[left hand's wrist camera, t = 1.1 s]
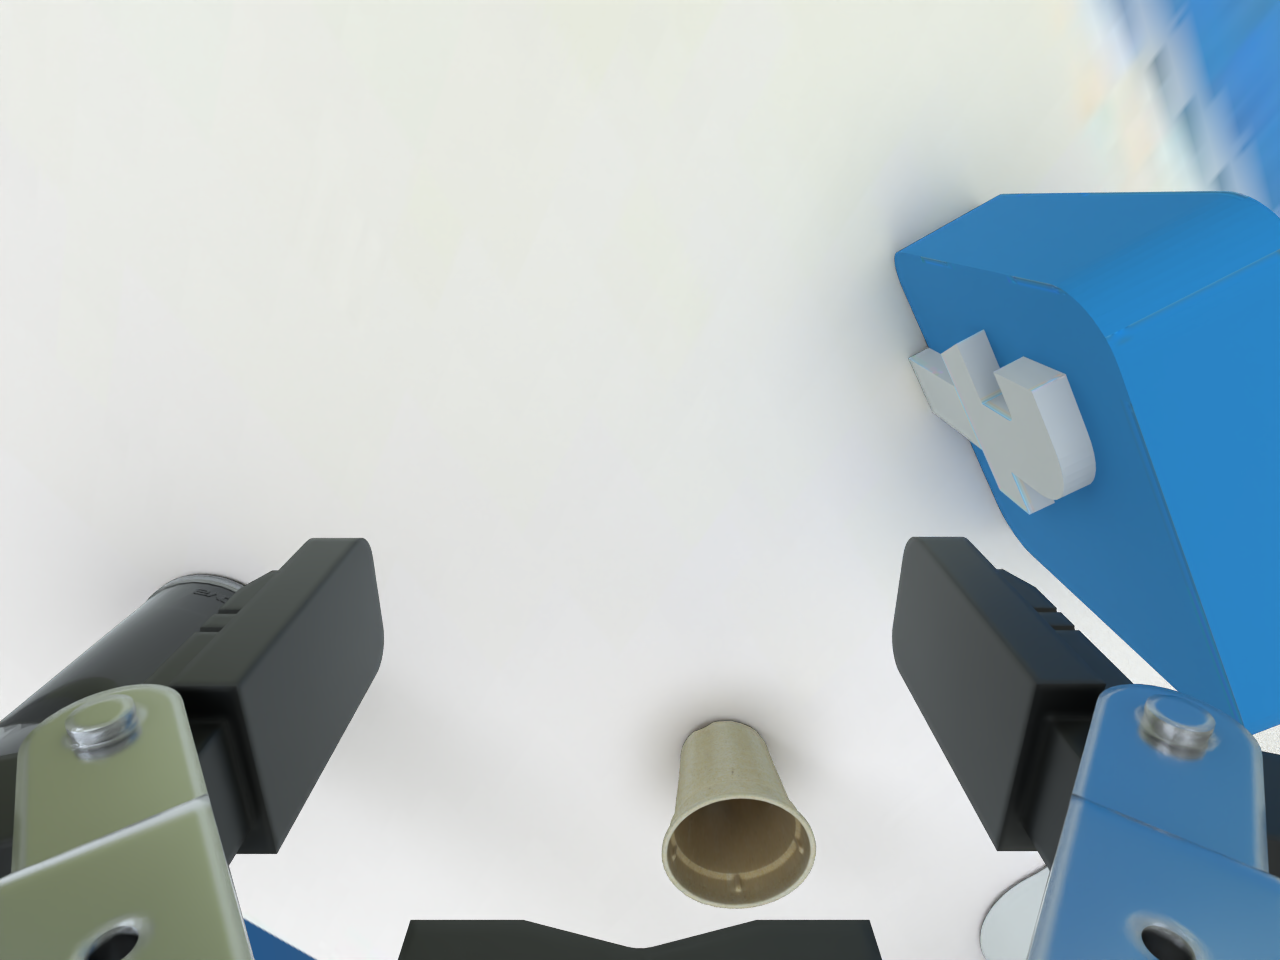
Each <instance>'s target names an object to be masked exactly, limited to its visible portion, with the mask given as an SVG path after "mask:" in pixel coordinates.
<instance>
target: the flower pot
mask: <svg viewBox="0 0 1280 960" xmlns="http://www.w3.org/2000/svg"><path fill="white" fill-rule="evenodd" d="M815 855H816V843H815V838H814V835H813V832H812V830H811V827H810V825H809V824H808V822H807V821H806V819H805V818H804V817H803V816H802V815H801V814H800V813H799V812H798V811H797V809H796V808H795V806H794V805H793V804H792V802H791V801H790V800H789V799H788V796H787V794H786V792H785V789H784V787H783V785H782V782H781V780H780V778H779V776H778V773H777V771H776V769H775V766H774V764H773V761H772V759H771V757H770V754H769V752H768V749H767V746H766V744H765V742H764V740H763V739H762V738H761V736H760V735H759V734H758V733H757V732H756V731H755V730H754V729H752V728H751V727H749V726H747V725H744V724H742V723H738V722H733V721H717V722H713V723H711V724H710V725H708V726H706V727H704V728H702V729H700V730H697V731H694V732H693V733H692V734H691V735H690V736H689V737H688V738H687V740H686V741H685V743H684V745H683V748H682V751H681V761H680V772H679V782H678V790H677V798H676V807H675V814H674V816H673V818H672V820H671V824H670V827H669V828H668V830H667V832H666V834H665V837H664V840H663V846H662V862H663V865H664V869H665V871H666V873H667V876H668V877H669V879H670V881H671V882H672V883H673V884H674V885H675V886H676V887H677V888H678V889H679V890H680V891H681V892H683V893H684V894H685V895H686V896H688V897H690V898H692V899H694V900H696V901H698V902H700V903H703V904H706V905H710V906H714V907H720V908H730V909H739V908H740V909H742V908H751V907H756V906H761V905H764V904H768V903H770V902H773V901H776V900H778V899H780V898H782V897H784V896H786V895H787V894H789V893H791V892H792V891H793V890H794V889H796V888H797V887H798V886H799V885H800V884H801V883H802V882H803V881H804V880H805V878H806V877H807V875H808V874H809V873H810V871H811V869H812V867H813V864H814V860H815Z"/></svg>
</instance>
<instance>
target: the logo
mask: <svg viewBox="0 0 1280 960" xmlns="http://www.w3.org/2000/svg"><path fill="white" fill-rule="evenodd" d="M895 267H896V271H897V275H898V278H899V280H900V283H901V286H902V288H903V290H904V293H905V295H906V297H907V299H908V302H909V304H910V306H911V308H912V311H913V313H914V315H915V318H916V320H917V322H918V324H919V327H920V329H921V331H922V334H923V336H924V338H925V340H926V343H927V345H928V347H929V348H927V349H925V350H923V351H921V352H919V353H918V354H916V355H914V356H912V357H910V358H909V361H910V363H911V365H912V367H913V370H914V372H915V374H916V376H917V378H918V381H919V383H920V385H921V387H922V390H923V392H924V394H925V396H926V398H927V401H928V403H929V405H930V407H931V410H932V412H933V413H934V414H935V415H937V416H938V417H939V418H941V419H942V420H943V421H944V422H946V423H947V424H948V425H950V426H951V427H952V428H954V429H955V430H956V431H958V432H959V433H960V434H962V435H963V436H964V437H966V438H967V439H968V440H970V443H971V445H972V447H973V449H974V452H975V454H976V456H977V459H978V461H979V463H980V465H981V468H982V470H983V472H984V474H985V477H986V479H987V481H988V484H989V486H990V488H991V490H992V493H993V495H994V497H995V500H996V502H997V504H998V506H999V508H1000V510H1001V512H1002V514H1003V516H1004V518H1005V520H1006V521H1007V523H1008V525H1009V526H1010V528H1011V530H1012V531H1013V533H1014V534H1015V535H1016V537H1017V538H1018V540H1019V541H1020V542H1021V544H1022V545H1023V546H1024V547H1025V548H1026V549H1027V551H1028V552H1029V553H1030V554H1031V555H1033V556H1034V557H1035V558H1036V559H1037V560H1038V561H1039V562H1040V563H1041V564H1042V565H1043V566H1044V567H1045V568H1046V569H1048V570H1049V571H1050V572H1051V573H1052V574H1053V575H1054V576H1055V577H1056V578H1057V579H1058V580H1059V581H1060V582H1061V583H1063V584H1064V585H1065V586H1066V587H1067V588H1068V589H1069V590H1070V591H1071V592H1072V593H1073V594H1074V595H1075V596H1076V597H1078V598H1079V599H1080V600H1081V601H1082V602H1083V603H1084V604H1085V605H1086V606H1087V607H1088V608H1089V609H1090V610H1091V611H1093V612H1094V613H1095V614H1096V615H1097V616H1098V617H1099V618H1100V619H1101V620H1102V621H1103V622H1104V623H1105V624H1106V625H1108V626H1109V627H1110V628H1111V629H1112V630H1113V631H1114V632H1115V633H1116V634H1117V635H1118V636H1119V637H1120V638H1121V639H1123V640H1124V641H1125V642H1126V643H1127V644H1128V645H1129V646H1130V647H1131V648H1132V649H1133V650H1134V651H1135V652H1136V653H1138V654H1139V655H1140V656H1141V657H1142V658H1143V659H1144V660H1145V661H1146V662H1147V663H1148V664H1149V665H1150V666H1151V667H1153V668H1154V669H1155V670H1156V671H1157V672H1158V673H1159V674H1160V675H1161V676H1162V677H1163V678H1164V679H1165V680H1166V681H1168V682H1169V683H1170V684H1171V685H1172V686H1173V687H1174V688H1175V689H1176V690H1177V691H1178V692H1181V693H1184V694H1186V695H1189V696H1192V697H1195V698H1197V699H1199V700H1202V701H1204V702H1206V703H1208V704H1210V705H1212V706H1214V707H1216V708H1218V709H1220V710H1221V711H1223V712H1224V713H1226V714H1228V715H1229V716H1231V717H1232V718H1233V719H1235V720H1236V721H1237V722H1239V723H1240V724H1241V725H1242V726H1244V727H1245V728H1246V729H1247V730H1248V731H1249V732H1250V733H1251V734H1252V735H1253V734H1256V733H1258V732H1261V731H1264V730H1266V729H1269V728H1271V727H1274V726H1277V725H1279V724H1280V218H1279V217H1278V216H1277V215H1276V214H1275V213H1273V212H1272V211H1271V210H1270V209H1269V208H1267V207H1266V206H1264V205H1263V204H1261V203H1260V202H1258V201H1257V200H1255V199H1253V198H1251V197H1249V196H1246V195H1243V194H1240V193H1236V192H1230V191H1189V192H1113V193H1038V194H1000V195H998V196H996V197H995V198H993V199H991V200H989V201H987V202H986V203H984V204H982V205H980V206H979V207H977V208H975V209H973V210H971V211H970V212H968V213H966V214H964V215H963V216H961V217H959V218H957V219H955V220H954V221H952V222H950V223H948V224H947V225H945V226H943V227H941V228H939V229H938V230H936V231H934V232H932V233H931V234H929V235H927V236H925V237H923V238H922V239H920V240H918V241H916V242H915V243H913V244H911V245H909V246H907V247H906V248H904V249H902V250H900V251H899V252H897V253H896V254H895Z"/></svg>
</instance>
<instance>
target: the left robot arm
mask: <svg viewBox="0 0 1280 960" xmlns="http://www.w3.org/2000/svg"><path fill="white" fill-rule="evenodd" d="M1056 609H1057V608H1056V607H1055V606H1054V605H1053V604H1052V603H1051V602H1050V601H1049V600H1048V599H1047V598H1046V597H1045V596H1044V595H1043V594H1042V593H1041V592H1040V591H1039V590H1038V589H1037V588H1036V587H1034V586H1032V585H1030V584H1029V583H1027V582H1025V581H1023V580H1021V579H1020V578H1018V577H1016V576H1014V575H1012V574H1010V573H1009V572H1007V571H1005V570H1003V569H996V568H995V567H994V566H993V565H992V564H991V563H990V562H989V561H988V560H987V559H986V558H985V557H984V556H983V555H982V554H981V553H980V552H979V550H978V549H977V548H976V547H975V546H974V545H973V544H972V543H971V542H970V541H969V540H968V539H967V538H965V537H912V538H910V539H909V540H908V542H907V544H906V546H905V550H904V554H903V561H902V568H901V574H900V581H899V588H898V595H897V602H896V608H895V615H894V622H893V630H892V644H893V653H894V658H895V662H896V665H897V668H898V670H899V672H900V674H901V676H902V678H903V680H904V681H905V683H906V685H907V687H908V689H909V691H910V692H911V694H912V696H913V698H914V700H915V702H916V703H917V705H918V707H919V709H920V711H921V713H922V714H923V716H924V718H925V720H926V722H927V724H928V725H929V727H930V729H931V731H932V733H933V735H934V736H935V738H936V740H937V742H938V744H939V745H940V747H941V749H942V751H943V753H944V755H945V756H946V758H947V760H948V762H949V764H950V766H951V767H952V769H953V771H954V773H955V775H956V777H957V778H958V780H959V782H960V784H961V786H962V788H963V789H964V791H965V793H966V795H967V797H968V799H969V800H970V802H971V804H972V806H973V808H974V810H975V811H976V813H977V815H978V817H979V819H980V820H981V822H982V824H983V826H984V828H985V830H986V831H987V833H988V835H989V837H990V839H991V841H992V842H993V844H994V846H995V848H996V850H997V851H1038V853H1039V854H1040V856H1041V857H1042V859H1043V861H1044V862H1045V864H1046V866H1047V867H1048V869H1049V871H1050V872H1049V876H1048V880H1047V883H1046V887H1045V890H1044V894H1043V898H1042V901H1041V905H1040V909H1039V912H1038V916H1037V920H1036V924H1035V927H1034V931H1033V935H1032V938H1031V942H1030V946H1029V949H1028V953H1027V957H1026V960H1280V755H1278V754H1273V753H1268V752H1263V751H1261V748H1260V746H1259V744H1258V742H1257V740H1256V739H1255V738H1254V737H1253V736H1252V734H1251V733H1250V732H1249V731H1248V730H1247V729H1246V728H1245V727H1244V726H1242V725H1241V724H1240V723H1239V722H1237V721H1236V720H1235V719H1233V718H1232V717H1231V716H1229V715H1228V714H1226V713H1224V712H1223V711H1221V710H1220V709H1218V708H1216V707H1214V706H1212V705H1210V704H1208V703H1206V702H1204V701H1202V700H1199V699H1197V698H1195V697H1192V696H1189V695H1186V694H1184V693H1181V692H1178V691H1174V690H1170V689H1167V688H1162V687H1157V686H1152V685H1143V684H1133V683H1132V682H1131V681H1130V680H1129V679H1128V678H1127V677H1126V676H1125V675H1124V674H1123V673H1122V672H1121V671H1120V670H1119V669H1118V668H1117V667H1116V666H1115V665H1114V664H1113V663H1112V662H1111V661H1110V660H1109V659H1108V658H1107V657H1106V656H1105V655H1104V654H1103V653H1102V652H1101V651H1100V650H1099V649H1098V648H1097V647H1095V646H1094V645H1093V644H1092V643H1091V642H1090V641H1089V640H1088V639H1087V638H1086V637H1085V636H1084V635H1083V634H1082V633H1081V632H1080V631H1079V630H1075V629H1074V625H1073V624H1072V623H1071V622H1070V621H1069V620H1068V619H1067V618H1066V617H1065V616H1064V615H1063V614H1062V613H1061V612H1057V611H1056ZM383 647H384V630H383V623H382V616H381V609H380V602H379V596H378V589H377V582H376V576H375V569H374V562H373V556H372V551H371V548H370V545H369V543H368V542H367V541H366V540H365V539H364V538H311V539H309V540H308V541H307V542H306V543H305V544H304V545H303V546H302V547H301V548H300V549H299V550H298V551H297V552H296V553H295V554H294V555H293V556H292V557H291V558H290V559H289V560H288V561H287V562H286V563H285V564H284V565H283V566H282V567H281V568H280V570H279V571H271V572H269V573H267V574H265V575H263V576H262V577H260V578H258V579H256V580H254V581H253V582H251V583H249V584H247V585H245V586H244V585H242V584H240V583H237V582H235V581H233V580H230V579H227V578H223V577H219V576H213V575H189V576H184V577H180V578H177V579H175V580H172V581H170V582H169V583H167V584H165V585H164V586H162V587H161V588H160V589H159V590H157V591H156V592H155V593H154V594H153V595H152V596H151V597H150V598H149V599H148V600H147V601H146V602H145V603H144V604H143V605H142V606H140V607H139V608H138V609H137V610H136V611H134V612H133V613H132V614H131V615H129V616H128V617H127V618H126V619H124V620H123V621H122V622H120V623H119V624H118V625H117V626H116V627H114V628H113V629H112V630H111V631H110V632H108V633H107V634H106V635H105V636H103V637H102V638H101V639H100V640H99V641H97V642H96V643H95V644H94V645H93V646H91V647H90V648H89V649H88V650H86V651H85V652H84V653H83V654H82V655H80V656H79V657H78V658H77V659H76V660H74V661H73V662H72V663H71V664H69V665H68V666H67V667H66V668H65V669H63V670H62V671H61V672H60V673H58V674H57V675H56V676H55V677H54V678H52V679H51V680H50V681H49V682H48V683H46V684H45V685H44V686H43V687H41V688H40V689H39V690H38V691H37V692H35V693H34V694H33V695H32V696H31V697H29V698H28V699H27V700H26V701H24V702H23V703H22V704H21V705H20V706H18V707H17V708H16V709H15V710H14V711H12V712H11V713H10V714H9V715H7V716H6V717H5V718H4V719H3V720H1V721H0V960H254V957H253V953H252V949H251V946H250V942H249V938H248V935H247V931H246V927H245V924H244V920H243V916H242V913H241V909H240V905H239V901H238V898H237V894H236V890H235V887H234V883H233V880H232V876H231V872H230V869H229V864H230V863H231V861H232V860H233V858H234V856H235V855H236V854H277V853H278V851H279V849H280V847H281V845H282V844H283V842H284V840H285V838H286V836H287V835H288V833H289V831H290V829H291V827H292V826H293V824H294V822H295V820H296V818H297V817H298V815H299V813H300V811H301V809H302V807H303V806H304V804H305V802H306V800H307V798H308V797H309V795H310V793H311V791H312V789H313V788H314V786H315V784H316V782H317V780H318V779H319V777H320V775H321V773H322V771H323V770H324V768H325V766H326V764H327V762H328V761H329V759H330V757H331V755H332V753H333V751H334V750H335V748H336V746H337V744H338V742H339V741H340V739H341V737H342V735H343V733H344V732H345V730H346V728H347V726H348V724H349V723H350V721H351V719H352V717H353V715H354V714H355V712H356V710H357V708H358V706H359V705H360V703H361V701H362V699H363V697H364V695H365V694H366V692H367V690H368V688H369V686H370V685H371V683H372V681H373V679H374V677H375V676H376V674H377V672H378V669H379V667H380V663H381V660H382V655H383ZM398 960H882V958H881V955H880V952H879V949H878V946H877V942H876V939H875V936H874V933H873V930H872V927H871V924H870V920H755V921H751V922H747V923H743V924H739V925H735V926H732V927H728V928H724V929H720V930H716V931H712V932H708V933H704V934H701V935H697V936H693V937H689V938H685V939H681V940H677V941H674V942H670V943H666V944H662V945H658V946H654V947H649V948H631V947H626V946H622V945H618V944H614V943H610V942H606V941H603V940H599V939H595V938H591V937H587V936H583V935H579V934H576V933H572V932H568V931H564V930H560V929H556V928H552V927H548V926H545V925H541V924H537V923H533V922H529V921H525V920H410V924H409V927H408V930H407V933H406V936H405V939H404V942H403V946H402V949H401V952H400V955H399V958H398Z"/></svg>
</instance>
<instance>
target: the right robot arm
mask: <svg viewBox="0 0 1280 960" xmlns="http://www.w3.org/2000/svg"><path fill="white" fill-rule="evenodd" d="M1049 872H1050V871H1049V869H1048V867H1046V868H1045V869H1043V870H1042V871H1040V872H1038V873H1037V874H1035V875H1033V876H1031V877H1029V878H1027V879H1025V880H1024V881H1022V882H1020V883H1019V884H1017V885H1016V886H1014V887H1013V888H1011V889H1010V890H1009V891H1007V892H1006V893H1005V894H1004V895H1003V896H1002V897H1001V898H1000V899H999V900H998V901H997V902H996V903H995V904H994V905H993V907H992V908H991V909H990V911H989V913H988V914H987V916H986V918H985V920H984V923H983V925H982V929H981V934H980V944H981V950H982V953H983V955H984V957H985V959H986V960H1026V957H1027V953H1028V949H1029V946H1030V942H1031V938H1032V935H1033V931H1034V927H1035V924H1036V920H1037V916H1038V912H1039V909H1040V905H1041V901H1042V898H1043V894H1044V890H1045V887H1046V883H1047V880H1048V876H1049Z"/></svg>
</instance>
